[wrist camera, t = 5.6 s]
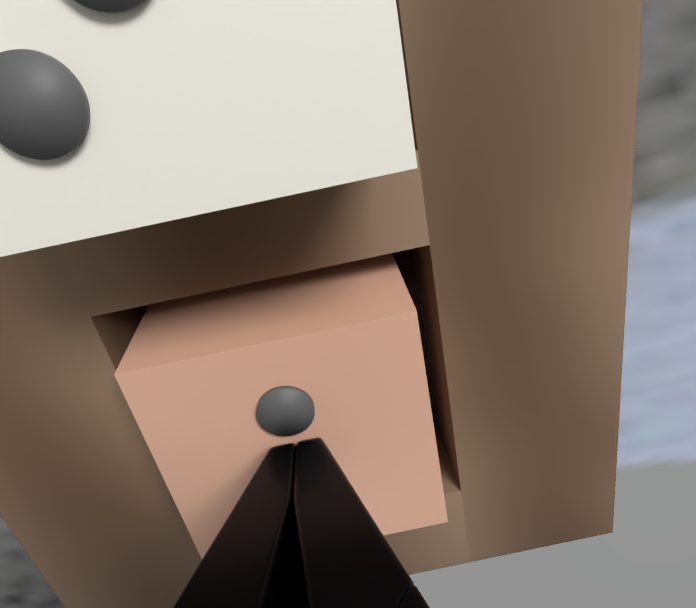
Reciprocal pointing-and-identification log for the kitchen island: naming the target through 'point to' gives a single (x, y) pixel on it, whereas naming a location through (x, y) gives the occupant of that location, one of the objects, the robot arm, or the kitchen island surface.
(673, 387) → the kitchen island surface
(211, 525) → the salmon pink square block
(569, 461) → the button board
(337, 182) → the button cream
